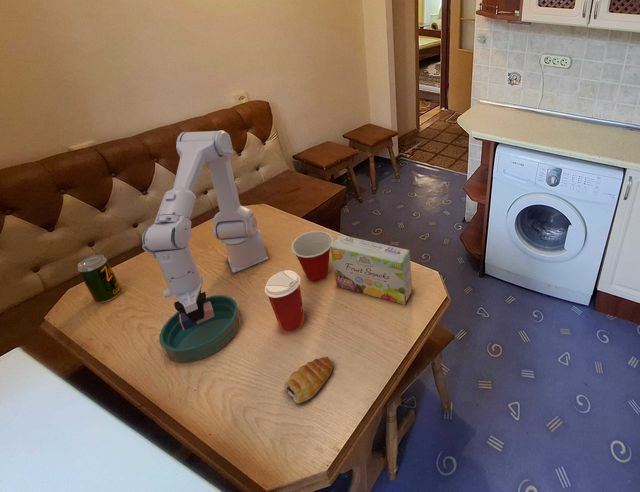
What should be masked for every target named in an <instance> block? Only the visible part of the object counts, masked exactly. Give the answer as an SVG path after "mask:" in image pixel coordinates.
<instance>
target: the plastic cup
mask: <svg viewBox="0 0 640 492" xmlns="http://www.w3.org/2000/svg"><path fill="white" fill-rule="evenodd" d="M333 242H334V238H333V237H332V234H330V233H328V232H327V231H323V230H311V231H308V232H304V233H302V234H299V236H297V237H296V238H295V239H294V240H293V241H292V244H291V247H290V248H291V251H292V253H293V254H294V255H295V257H296V258H297V260H298V261H299V264H300V266H301V268H302V270H303V272H304V274H305V276H306V278H307V280H308V281H310V282H314V283H316V282H320V281H322V280H324V279H325V278H326V277H327V276H328V274H329V268H330V267H329V264H330V254H331V249H330V245H331V244H332V243H333Z"/></svg>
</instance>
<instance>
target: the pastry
mask: <svg viewBox="0 0 640 492" xmlns="http://www.w3.org/2000/svg"><path fill="white" fill-rule="evenodd" d="M333 369H334V364H333V362H332V361H331V359H330V357H329V356H325V357H323V356H322V357H319V358H314V359H313V360H312V361H308V362H307V363H306V364H304V365H301V366H300V367H299V368H298V370H296V371H295V370H294V371H293V372H292V373H291V374H290V376H289V378H288V379H287V380H286V382H285V383H284V388H285V389H286V390H287V394H288V395H289V396H290V397H292V398H293V401H294V402H295V404H302V403H304V402H307V401H309V400H311V399H312V398H313V397H314V396H315V395H316V394H317V393H319V391H320V389H321V388H322V387H323V386H324V384H325V383H326V382H327V380H328V379H329V377H330V376H331V374H332V371H333Z"/></svg>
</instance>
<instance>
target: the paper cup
mask: <svg viewBox="0 0 640 492" xmlns="http://www.w3.org/2000/svg"><path fill="white" fill-rule="evenodd" d="M264 293H265V295H266V296H267V297H268V300H269V302H270V305H271V307H272V311H273V313H274V316H275V318H276V321H277V324H278V326H279V329H280V330H281V331H282V332H284V333H291V332H294V331H296V330H298V329H300V328H301V327H302V325H303V324H304V323H305V322H304V321H305V312H304V304H303V298H302V290H301V277H300V274H298V273H297V272H295V271H294V270H289V269H287V270H285V269H284V270H282V271H279V272H276V273H275V274H273V275H272V276H271V277H269V279H268V280H267V282H266V284H265V287H264Z"/></svg>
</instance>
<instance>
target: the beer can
mask: <svg viewBox="0 0 640 492" xmlns="http://www.w3.org/2000/svg"><path fill="white" fill-rule="evenodd" d="M77 271H78V274H79V275H80V277H81V279H82V281H83V282H84V284H85V286H86V288H87V290H88V291H89V293H90V295H91V297H92V299H93V301H94V302H96V303H98V304H105V303H108V302H111V301H113V300H114V299H116V298H117V297H119V296H120V295H121V292H122V287H121V284H120V283H119V280H118V279H117V277H116V275H115V272H114V270H113V268H112V266H111V264H110V262H109V260H108V258H107V257H105V255H103V254H95V255H91V256H88V257H86V258H84V259H82V260H81V261H80V262H79V263H77Z"/></svg>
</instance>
